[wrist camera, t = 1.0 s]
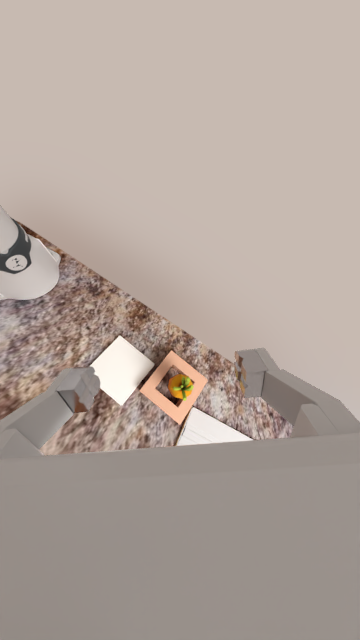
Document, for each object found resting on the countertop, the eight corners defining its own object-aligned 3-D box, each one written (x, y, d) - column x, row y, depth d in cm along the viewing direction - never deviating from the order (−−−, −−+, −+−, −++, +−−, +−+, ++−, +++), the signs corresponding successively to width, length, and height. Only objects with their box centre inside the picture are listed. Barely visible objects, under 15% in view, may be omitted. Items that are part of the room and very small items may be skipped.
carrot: (174, 399, 43) (190, 409, 29) (159, 386, 43) (168, 390, 29) (185, 382, 45) (205, 384, 31) (171, 370, 45) (184, 367, 31)
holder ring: (139, 389, 42) (139, 390, 39) (169, 352, 47) (171, 350, 43) (177, 421, 41) (180, 424, 38) (203, 380, 46) (208, 380, 43)
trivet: (83, 373, 41) (82, 373, 40) (120, 335, 45) (119, 335, 44) (121, 405, 40) (121, 405, 39) (154, 364, 45) (155, 364, 44)
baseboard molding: (282, 517, 40) (291, 460, 45) (292, 527, 38) (301, 466, 42) (168, 457, 39) (190, 405, 44) (171, 462, 37) (193, 406, 41)
